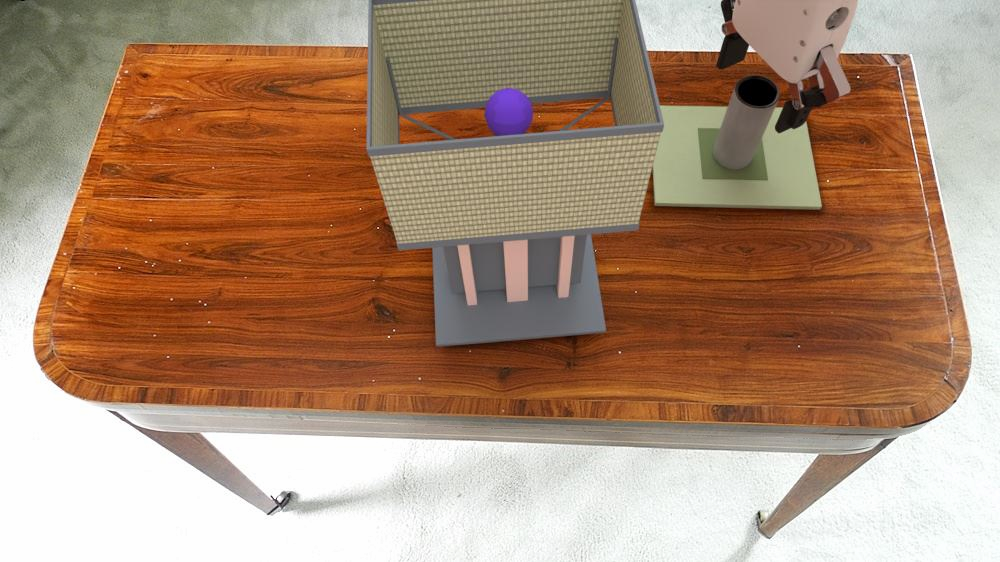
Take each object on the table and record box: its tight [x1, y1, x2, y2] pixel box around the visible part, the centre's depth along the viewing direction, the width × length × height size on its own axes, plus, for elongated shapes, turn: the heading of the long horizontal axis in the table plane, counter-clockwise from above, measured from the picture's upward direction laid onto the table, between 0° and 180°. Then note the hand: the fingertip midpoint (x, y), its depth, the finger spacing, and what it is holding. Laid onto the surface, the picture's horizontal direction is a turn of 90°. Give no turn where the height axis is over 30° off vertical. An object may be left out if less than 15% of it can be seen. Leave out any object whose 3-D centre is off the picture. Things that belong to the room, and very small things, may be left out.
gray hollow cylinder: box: [713, 74, 781, 170], centre depth 78 cm, size 4×4×10 cm
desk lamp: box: [366, 0, 664, 348], centre depth 62 cm, size 18×14×33 cm
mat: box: [652, 105, 823, 211], centre depth 83 cm, size 18×14×1 cm
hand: (758, 94), depth 74 cm, fingers open, 9 cm apart
